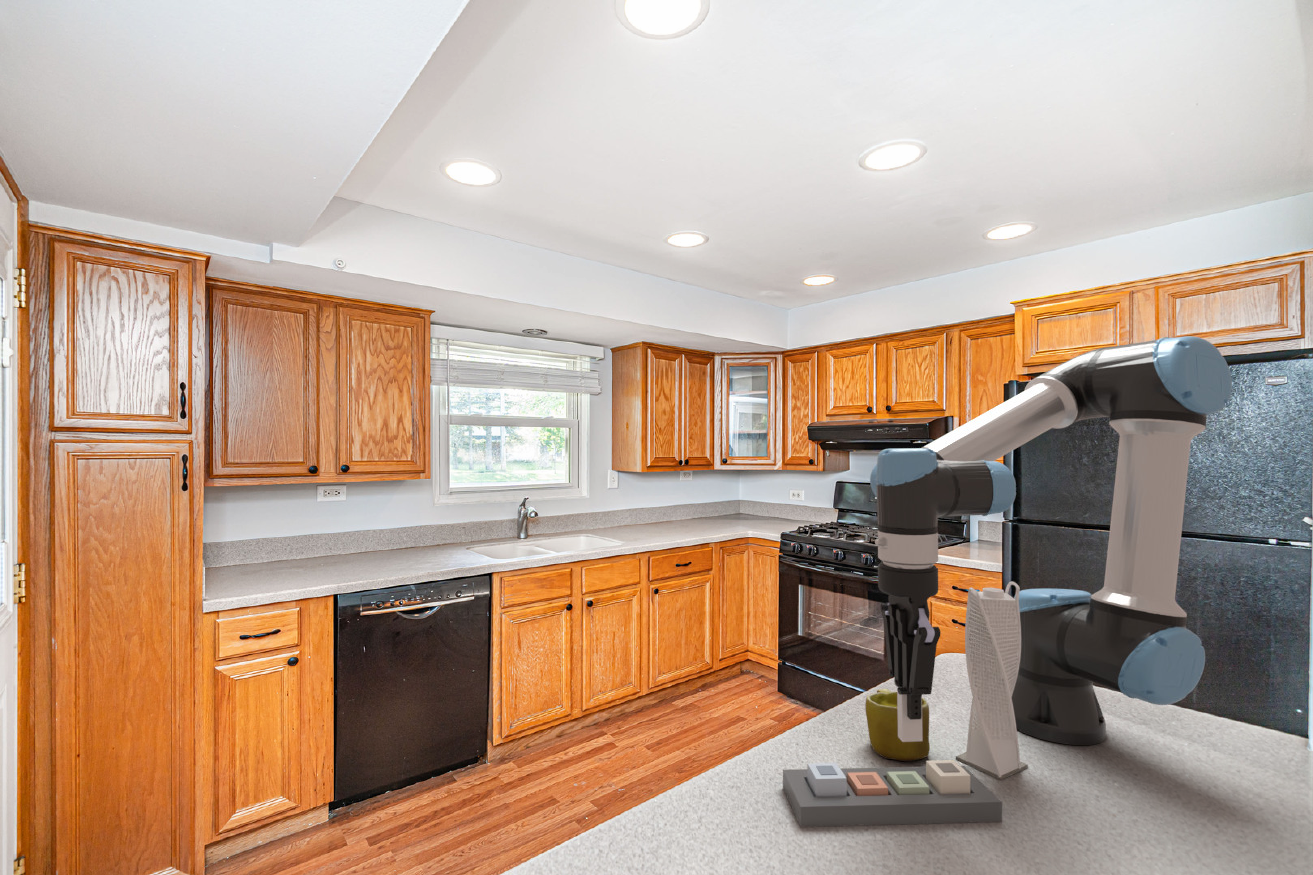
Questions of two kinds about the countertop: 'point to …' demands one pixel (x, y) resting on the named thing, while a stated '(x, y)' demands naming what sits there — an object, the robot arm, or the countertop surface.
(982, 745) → the skyscraper
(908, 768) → the keyguard frame
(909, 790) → the key sage
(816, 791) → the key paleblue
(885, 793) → the key terracotta
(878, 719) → the mug
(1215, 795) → the countertop surface
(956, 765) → the key ivory
